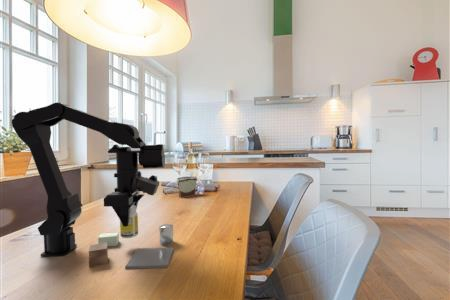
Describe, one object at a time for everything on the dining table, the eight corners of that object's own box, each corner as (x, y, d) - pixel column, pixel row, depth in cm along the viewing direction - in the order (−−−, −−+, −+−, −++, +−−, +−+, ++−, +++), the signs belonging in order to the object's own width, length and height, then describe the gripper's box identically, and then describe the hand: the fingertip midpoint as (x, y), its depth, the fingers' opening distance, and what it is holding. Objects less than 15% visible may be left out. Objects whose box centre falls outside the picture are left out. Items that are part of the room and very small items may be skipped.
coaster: (125, 268, 62) (125, 266, 61) (137, 250, 71) (137, 248, 71) (167, 267, 62) (167, 265, 62) (173, 249, 72) (173, 247, 72)
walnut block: (89, 267, 63) (88, 251, 62) (90, 260, 66) (90, 245, 66) (107, 264, 64) (106, 248, 64) (107, 257, 68) (107, 242, 68)
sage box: (98, 247, 74) (98, 237, 74) (101, 243, 77) (100, 233, 77) (117, 246, 75) (116, 235, 75) (118, 242, 78) (118, 232, 78)
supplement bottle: (132, 231, 77) (131, 203, 76) (141, 234, 74) (140, 205, 73) (117, 236, 73) (116, 206, 73) (125, 240, 70) (125, 209, 70)
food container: (191, 193, 147) (191, 175, 146) (197, 194, 142) (197, 176, 142) (172, 196, 139) (171, 178, 139) (177, 198, 134) (177, 179, 134)
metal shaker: (158, 245, 75) (157, 228, 74) (161, 240, 79) (160, 224, 78) (172, 245, 75) (171, 228, 75) (174, 240, 79) (173, 224, 79)
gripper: (147, 172, 63) (149, 234, 64) (162, 165, 82) (164, 213, 83) (101, 173, 63) (103, 235, 64) (127, 165, 82) (129, 213, 82)
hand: (129, 223), depth 73 cm, fingers closed on supplement bottle, 5 cm apart
